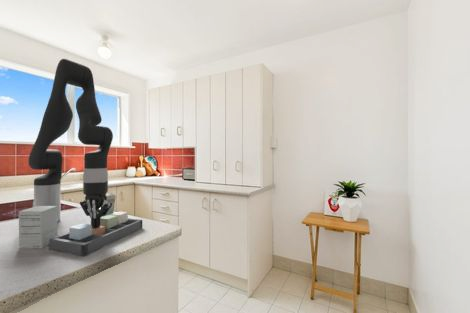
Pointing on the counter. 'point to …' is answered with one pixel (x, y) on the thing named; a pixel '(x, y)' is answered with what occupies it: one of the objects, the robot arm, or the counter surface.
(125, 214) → the cream cube
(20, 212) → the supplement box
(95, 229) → the orange cube
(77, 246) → the grey compartment tray
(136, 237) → the counter surface
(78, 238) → the pale blue cube
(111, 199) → the coffee cup
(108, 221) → the pale green cube
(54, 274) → the counter surface
